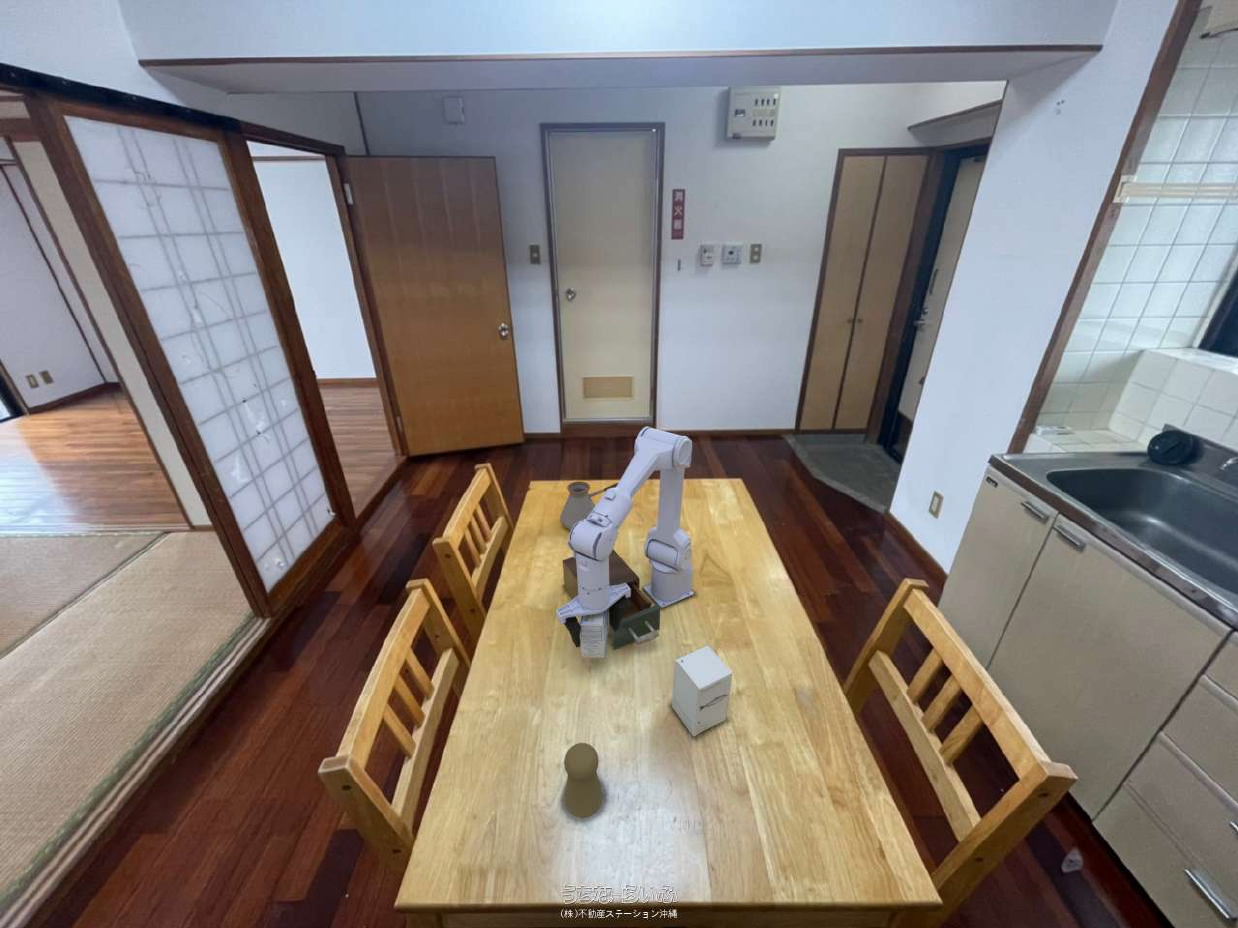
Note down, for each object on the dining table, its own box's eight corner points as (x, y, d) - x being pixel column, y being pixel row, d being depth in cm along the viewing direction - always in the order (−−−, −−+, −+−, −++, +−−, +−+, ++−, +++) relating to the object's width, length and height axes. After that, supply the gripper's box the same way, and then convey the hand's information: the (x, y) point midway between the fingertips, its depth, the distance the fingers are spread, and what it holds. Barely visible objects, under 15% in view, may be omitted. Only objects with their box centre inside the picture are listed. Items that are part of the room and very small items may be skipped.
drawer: (671, 643, 109) (672, 620, 106) (624, 664, 104) (624, 642, 101) (628, 592, 123) (628, 571, 120) (585, 609, 118) (584, 588, 115)
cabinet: (639, 604, 121) (639, 577, 117) (591, 624, 115) (589, 597, 111) (609, 569, 132) (608, 544, 128) (564, 586, 126) (562, 560, 123)
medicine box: (604, 659, 97) (603, 625, 93) (581, 658, 97) (579, 624, 93) (609, 627, 104) (608, 594, 100) (587, 626, 104) (585, 593, 100)
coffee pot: (559, 537, 145) (556, 491, 138) (561, 514, 155) (558, 470, 148) (635, 535, 145) (635, 489, 138) (632, 512, 155) (633, 468, 148)
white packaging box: (693, 738, 91) (698, 689, 85) (670, 706, 97) (673, 658, 91) (727, 721, 94) (733, 672, 88) (703, 690, 100) (707, 643, 94)
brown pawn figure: (564, 780, 85) (560, 737, 80) (601, 776, 85) (600, 734, 80) (564, 819, 79) (560, 776, 74) (603, 815, 80) (602, 772, 75)
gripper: (617, 555, 99) (618, 608, 106) (547, 581, 93) (552, 635, 99) (636, 576, 94) (636, 631, 100) (563, 605, 87) (567, 661, 94)
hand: (595, 635), depth 99 cm, fingers closed on medicine box, 7 cm apart
